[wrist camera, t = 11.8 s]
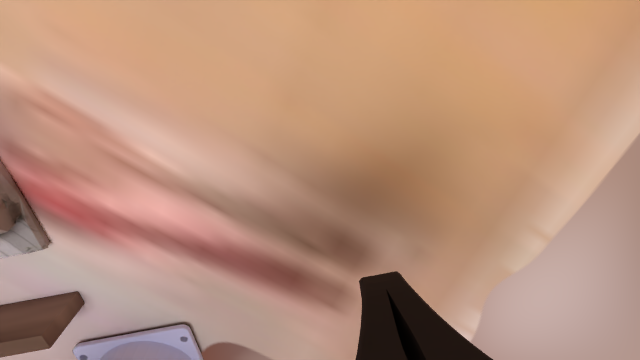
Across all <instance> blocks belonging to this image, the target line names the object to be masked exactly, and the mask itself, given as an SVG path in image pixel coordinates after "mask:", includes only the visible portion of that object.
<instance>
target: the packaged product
mask: <svg viewBox="0 0 640 360" xmlns="http://www.w3.org/2000/svg"><path fill="white" fill-rule="evenodd" d="M48 244H49V240H48V238H47V236H46V234H45V233H44V231H43V229H42V227H41V226H40V224H39V222H38V221H37V219H36V217H35V216H34V214H33V212H32V211H31V209H30V207H29V206H28V204H27V202H26V201H25V199H24V197H23V196H22V194H21V192H20V191H19V189H18V187H17V186H16V184H15V182H14V181H13V179H12V177H11V176H10V174H9V172H8V171H7V169H6V168H5V166H4V165H3V163H2V162H1V160H0V259H1V258H6V257H10V256H15V255H21V254H26V253H31V252H35V251H39V250H43V249H45V248H48Z"/></svg>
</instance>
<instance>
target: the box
mask: <svg viewBox="0 0 640 360" xmlns="http://www.w3.org/2000/svg"><path fill="white" fill-rule="evenodd" d="M83 305H84V301H83V300H82V298H81V296H80V295H79V293H78V292H73V293H67V294H62V295H56V296H51V297H45V298H40V299H34V300H29V301H23V302H18V303H12V304H7V305H1V306H0V357H5V356H11V355H16V354H22V353H27V352H33V351H38V350H43V349H49V348H51V346H52V345H53V344H54V343H55V341H56V340H57V339H58V337H59V336H60V335H61V333H62V332H63V331H64V329H65V328H66V327H67V326H68V324H69V323H70V322H71V320H72V319H73V318H74V316H75V315H76V314H77V312H78V311H79V310H80V309H81V307H82V306H83Z"/></svg>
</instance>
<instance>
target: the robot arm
mask: <svg viewBox="0 0 640 360" xmlns="http://www.w3.org/2000/svg"><path fill="white" fill-rule="evenodd" d="M359 283H360V290H361V297H362V316H361V329H360V336H359V344H358V350H357V356H356V360H493V359H491V358H490V357H489V356H487V355H486V354H485V353H483V352H482V351H481V350H479V349H478V348H477V347H475V346H474V345H473V344H472V343H470V342H469V341H468V340H467V339H465V338H464V337H463V336H462V335H460V334H459V333H458V332H457V331H456V330H455V329H454V328H452V327H451V326H450V325H449V324H448V323H447V322H446V321H444V320H443V319H442V318H441V317H440V316H439V315H438V314H437V313H436V312H435V311H434V310H433V309H432V308H431V307H430V306H429V305H428V304H427V303H426V302H425V301H424V300H423V299H422V298H421V297H420V296H419V295H418V294H417V293H416V292H415V291H414V290H413V289H412V288H411V286H410V285H409V284H408V283H407V282H406V281H405V279H404V278H403V277H402V276H401V275H400V273H398V272H397V271H396V272H391V273H385V274H380V275H374V276H369V277H363V278H361V279H360V281H359ZM183 336H185V337H183ZM73 353H74V355H75V356H76V358H77V359H78V360H203V357H202V355H201V352H200V350H199V348H198V346H197V343H196V341H195V339H194V336H193V334H192V332H191V329H190V328H189V326H187V325H184V324H181V325H175V326H170V327H164V328H159V329H153V330H148V331H143V332H137V333H132V334H126V335H121V336H115V337H110V338H104V339H99V340H94V341H88V342H83V343H79V344H77V345H76V346H75V347H74V349H73Z"/></svg>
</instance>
